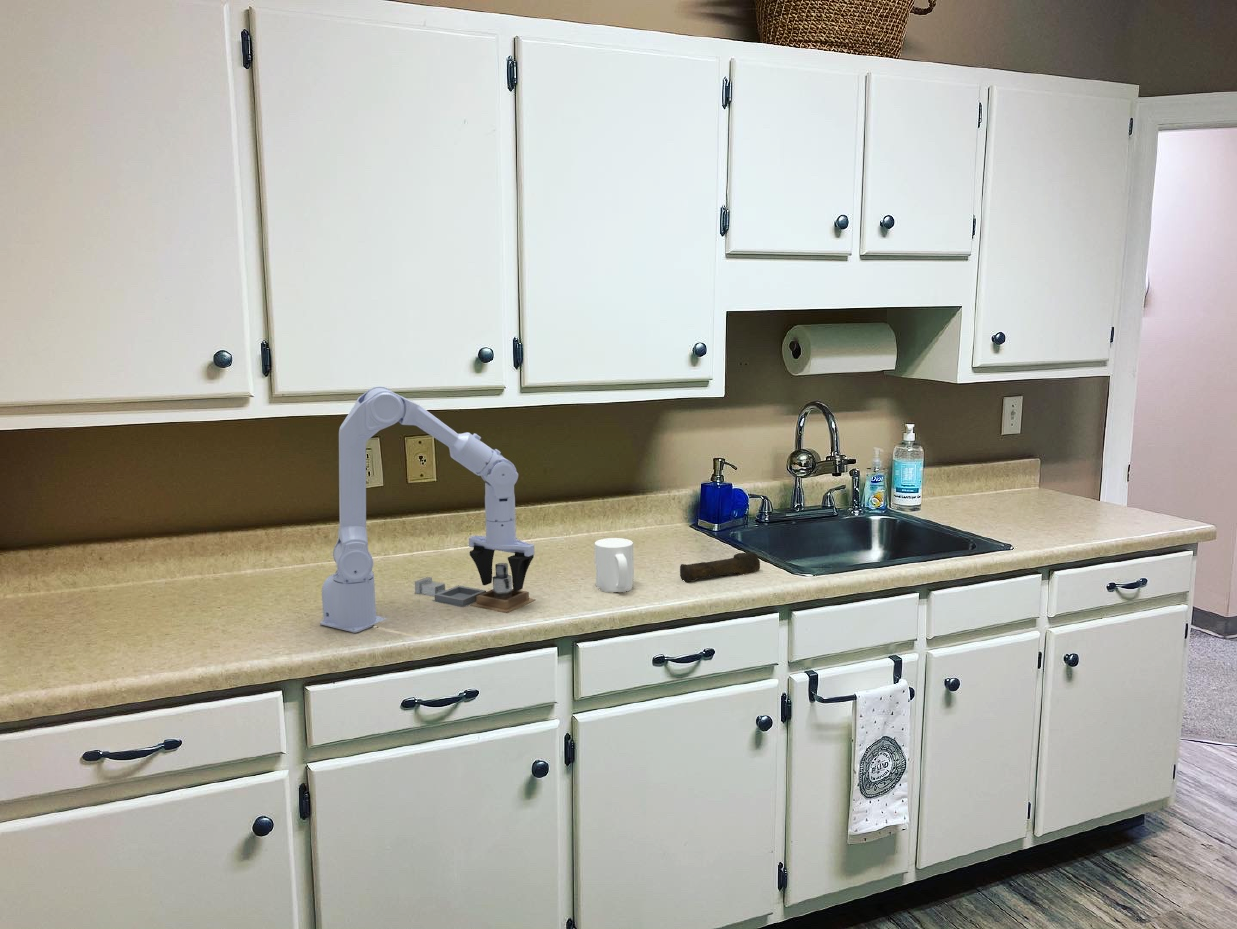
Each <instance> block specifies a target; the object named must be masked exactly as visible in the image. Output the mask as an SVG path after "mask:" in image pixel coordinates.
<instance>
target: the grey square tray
mask: <svg viewBox="0 0 1237 929" xmlns="http://www.w3.org/2000/svg"><path fill="white" fill-rule="evenodd" d="M485 592H487V590H484V589H480V588H474V587H469V586H464V585H460V584H459V585H456V586H454V587H451V588H448V589H445V591H443V592H440V593H438V594H435V597H434V599H433V600H432V602H434V603H440V604H444V605H448V606H449V605H450V606H454V607H460V608H465V607H468V606H470V604H473V603H475V602H477V596H478V595H480V594H483V593H485Z"/></svg>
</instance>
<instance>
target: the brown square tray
mask: <svg viewBox="0 0 1237 929" xmlns="http://www.w3.org/2000/svg"><path fill="white" fill-rule="evenodd" d="M533 602H536V598H532V597H530V593H529V591H525V590H522V589H521V590H519V591H514V590H513V588H512V597H511V598H509V599H506V600H503V599H497V598H494V595H493V588H492V589H490V590H488V591H486V592H485V593H483V594H480V595H478V596H477V602H475V603H473V604H470V605H469V606H470V607H474V608H475V607H476V608H480V609H485V610H489V611H490V610H491V611H494V612H497V613H498V612H499V613H503V614H508V613H511V612H513V611H516V610H517V609H519V608H522V607H524V606H526V605H528V604H531V603H533Z"/></svg>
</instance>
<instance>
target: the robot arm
mask: <svg viewBox="0 0 1237 929" xmlns="http://www.w3.org/2000/svg"><path fill="white" fill-rule="evenodd" d="M396 423H399V424H400V425H403V426H415V427H417V428H419V429H420V430H422V431H423V432H425V433H426V434H428V435H430V436H431V437H433V438H434V439H436V440H437V441H439V442H441V444H444V445H445V446H447V447H448V449H449V456H450V458H451V459H453V460H454V461H456V462H457V463H459V464H460V465H461V466H463V467H464V468H466V469H467V470H469V471H470V472H472V473H473V474H474V475H476V476H480V477H481V479H482V480H483V481H484V482H485V483H484V485H485V486H484V490H485V494H484V512H485V515H484V516H485V536H483V535H473V536H470V537H468V547H469V548H472V550H469V557H471V559H472V561H473V563H474V565H475V566H476V568H477V571H478V574H479V577H480V580H481V584H482V586H488V585H490V584H493V562H494V554H495V551H499V552H504V553H510V554H512V553H513V555H510V556H508V557H507V561H508V565H509V567H510V571H511V572H510V573H511V579H512V589H513V590H514V591H519V590H521V591H522V590H523V588H524V584H525V579H526V576H527V572H528V570H529V567H530V564H531V563H532V561H533V559H534V556H535V552H536V551H535V544H533V543H528V542H525V541H522V540H519V539H518V537H517V533H516V532H517V531H516V530H517V529H516V528H517V526H516V525H517V524H516V497H515V496H516V495H515V484H516V483H517V482H518V479H519V473H518V472H517V468H516V466H515V465H514V463H513V462H511V460H509V459H507V458H505V457H504V456H503V455H502V454H501V453H502V452H501V451H500V450H499V449H497V448H495V449H493V448H492V447H490V446H488V445H487V444H486V443H484V442H483V441H482V440H481V439H482V437H481V436H480V435H478V434H477V433H473V434H472V433H470V432H463V433H457V432H456V431H455V430H454V429H453V428H451V427H449V426H448V425H447V424H446V423H444V422H443V421H442V420H440V418H437V417H436V416H435V415H434V414H432V413H431V412H429V411H428V410H426V408H424V407H423V406H421V405H420V404H418V403H416V402H414V401H412V400H410V399H408V398H406V397H404V396H402V395H399V394H398V393H395V392H394V391H392V390H390V388H387V387H385V386H373V387H372V388H370V389H368V390H366V392H364V393H363V394H361V395H360V396H358V398H357V400H356V401H355V403H354V405H353V407H352V408H351V409H350V411H349V413H348V414H347V415H346V417H345V419H344V420H343V421H342V423H341V425H340V426H339V430H338V488H339V491H338V493H339V494H338V495H339V497H338V499H339V502H338V503H339V510H338V511H339V512H338V513H339V515H338V516H339V526H338V531H337V535H338V536H337V541H336V543H335V545H334V548H333V551H332V557H333V560H334V562H335V564H336V571H335V572H334V573H333V574H331V575H329V576H328V577H326V579H325V580H324V581H323V585H322V588H321V600H322V602H321V604H322V616H323V617H322V619H323V620H321V621H320V622H319V623H320V624H319V625H321V626H325V627H329V628H330V627H331V628H334V629H336V630H337V629H338V630H342V631H347V632H350V633H355V634H356V633H359V632H361V631H364V630H367V629H370V628H371V627H375V624H377V623H381V622H382V621H385V620H387V617H382V616H379V615H377V607H376V606H377V605H376V603H377V602H376V589H375V585H376V584H375V573H374V572H373V569H374V559H373V555H372V554H371V553H370V551H369V545H368V544H369V541H368V532H367V531H368V530H367V442H368V441H369V440H370V439H371V438H372V437H373V436H374V435H376V434H377V433H378V432H379V431H381V430H384V429H387V428H388V427H391V426H394V425H395V424H396Z"/></svg>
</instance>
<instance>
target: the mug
mask: <svg viewBox="0 0 1237 929" xmlns="http://www.w3.org/2000/svg"><path fill="white" fill-rule="evenodd" d="M594 564H595V570H596V571H595V587H596V588H597V589H598V590H599V589H600V591H601V590H602V591H601V592H604V591H606V592H605V593H609V592H623V593H627V592H629V590H630V591H631V590H633V588H634V584H633V583H634V577H635V575H634V573H635V571H634V569H635V567H634V566H635V565H634V542H633V541H632V540H630V539H627V538H621V537H620V538H619V537H608V538H602V539H597V540H596V541H595V542H594ZM632 587H633V588H632ZM626 591H627V592H626Z"/></svg>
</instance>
